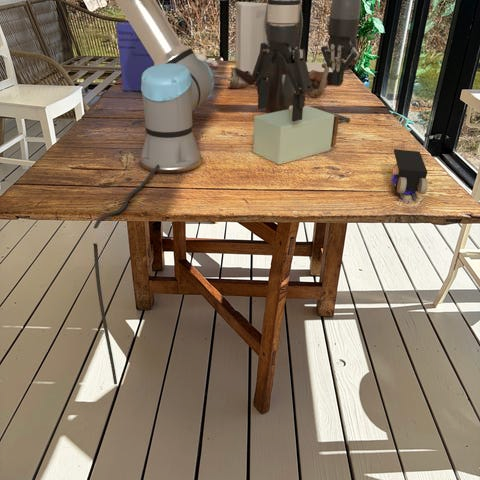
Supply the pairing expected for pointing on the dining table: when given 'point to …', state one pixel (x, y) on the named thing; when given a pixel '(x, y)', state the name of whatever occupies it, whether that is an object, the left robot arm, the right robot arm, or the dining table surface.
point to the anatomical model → (318, 80)
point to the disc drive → (320, 70)
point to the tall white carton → (249, 34)
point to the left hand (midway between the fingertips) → (279, 114)
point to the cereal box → (132, 57)
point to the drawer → (337, 120)
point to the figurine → (239, 78)
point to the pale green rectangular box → (292, 134)
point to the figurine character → (409, 173)
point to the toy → (205, 59)
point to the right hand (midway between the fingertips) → (336, 85)
